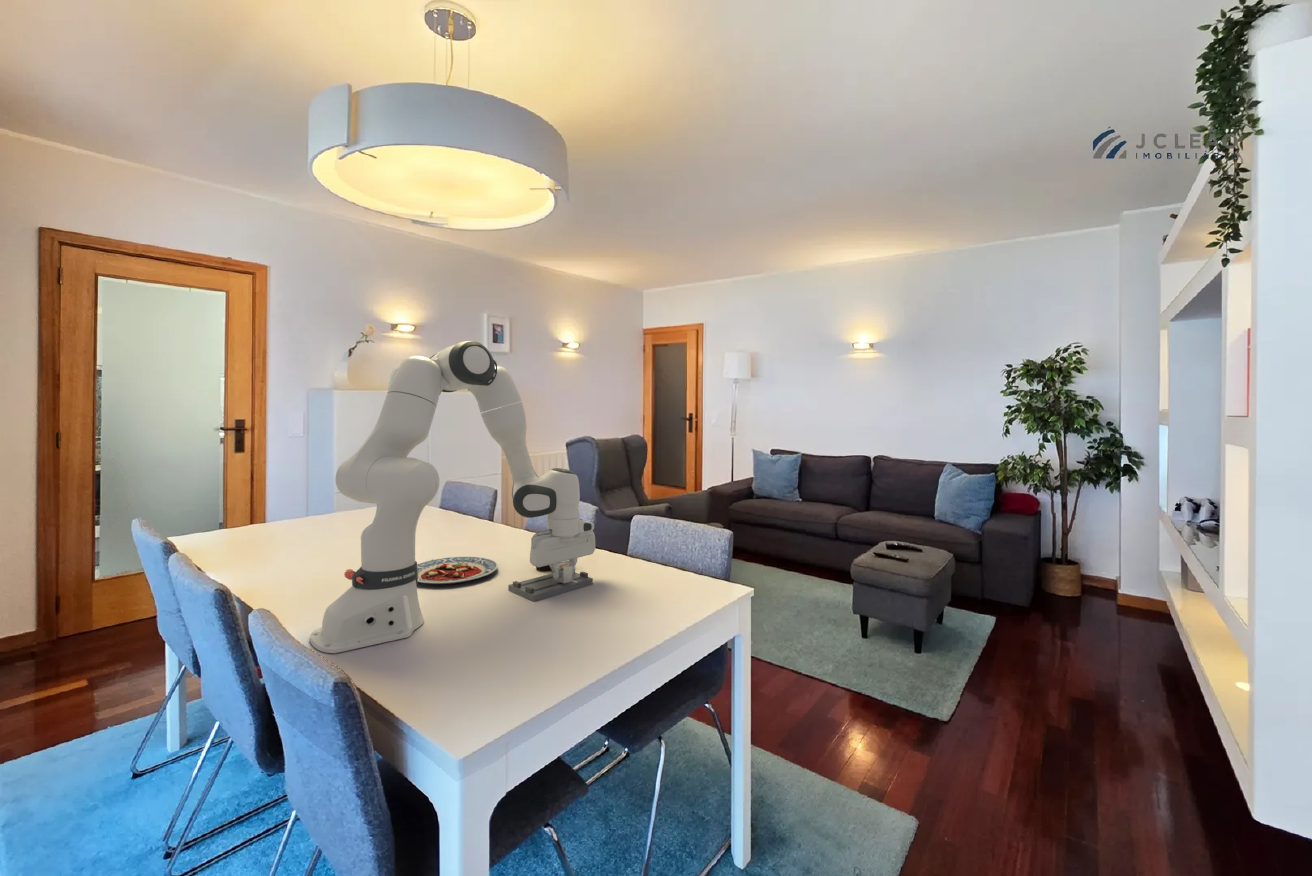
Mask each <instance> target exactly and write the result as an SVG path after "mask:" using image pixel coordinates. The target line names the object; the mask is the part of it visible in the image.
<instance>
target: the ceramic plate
mask: <svg viewBox="0 0 1312 876" xmlns="http://www.w3.org/2000/svg"><path fill="white" fill-rule="evenodd" d="M498 566H499V564H498V563H497V562H496V561H494V560H493V559H489V558H487V557H481V556H480V557H479V556H451V557H450V556H449V557H443V558H436V559H431V560H427V561H424V562H421V563H417V568H418V583H423V584H433V585H451V584H453V585H454V584H460V583H465V582H470V581H472V580H475V579H480V578H483V577H485V576H488V575H490V574H492V573H494V572H495V571H496V570H497V569H498Z"/></svg>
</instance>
